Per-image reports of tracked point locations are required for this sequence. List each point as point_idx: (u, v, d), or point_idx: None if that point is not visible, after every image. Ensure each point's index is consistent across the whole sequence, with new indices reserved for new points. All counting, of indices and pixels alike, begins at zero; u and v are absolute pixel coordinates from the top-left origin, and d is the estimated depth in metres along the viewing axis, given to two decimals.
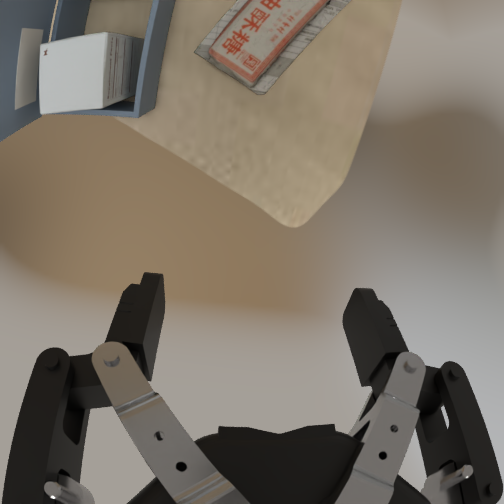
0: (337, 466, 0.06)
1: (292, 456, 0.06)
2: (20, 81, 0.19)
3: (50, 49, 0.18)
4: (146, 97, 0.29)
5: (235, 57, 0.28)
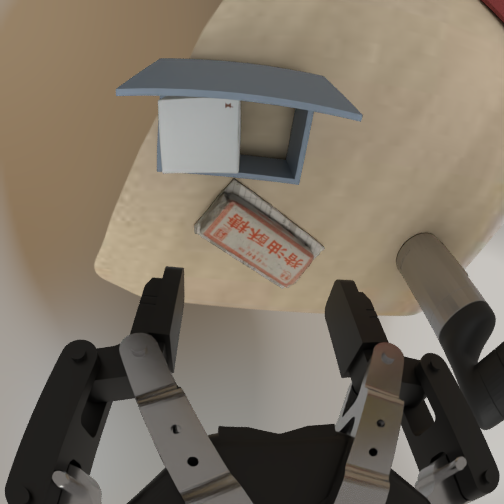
0: (337, 466, 0.06)
1: (292, 456, 0.06)
2: None
3: (231, 112, 0.24)
4: None
5: (224, 223, 0.40)
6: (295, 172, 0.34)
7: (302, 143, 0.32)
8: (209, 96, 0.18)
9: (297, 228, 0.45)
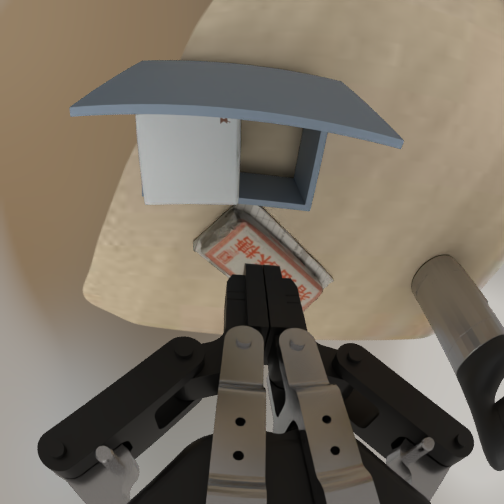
0: None
1: (292, 456, 0.06)
2: None
3: (227, 128, 0.19)
4: None
5: (231, 246, 0.35)
6: (306, 196, 0.29)
7: (315, 163, 0.27)
8: (194, 113, 0.13)
9: (309, 257, 0.40)
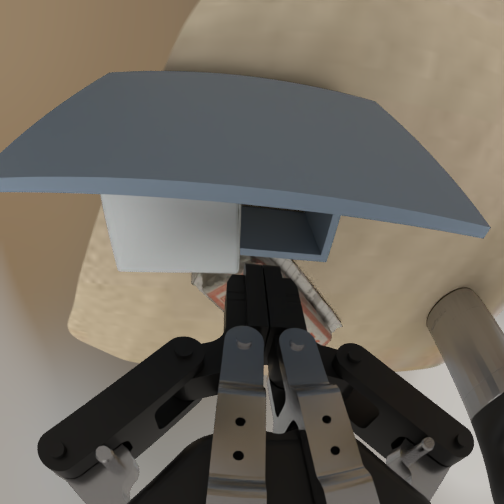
0: None
1: (292, 456, 0.06)
2: None
3: None
4: None
5: None
6: (322, 245, 0.23)
7: None
8: (159, 194, 0.07)
9: (321, 301, 0.35)
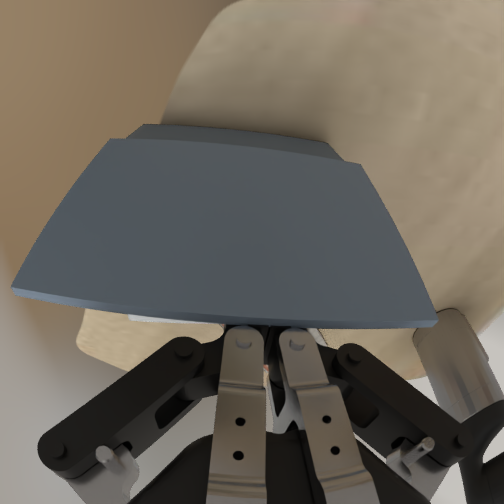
0: None
1: (292, 456, 0.06)
2: None
3: None
4: None
5: None
6: None
7: None
8: (169, 317, 0.10)
9: None
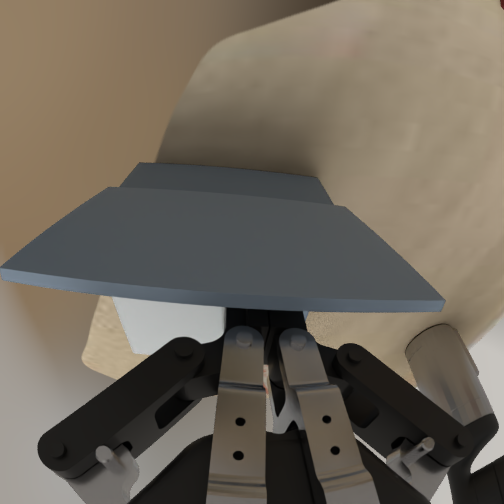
0: None
1: (292, 456, 0.06)
2: None
3: None
4: None
5: None
6: None
7: None
8: (158, 299, 0.09)
9: None
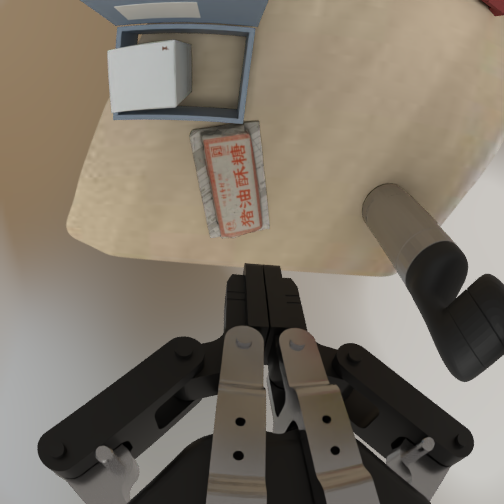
0: None
1: (292, 456, 0.06)
2: (142, 7, 0.21)
3: (167, 53, 0.24)
4: None
5: (228, 145, 0.39)
6: (239, 112, 0.34)
7: (243, 84, 0.32)
8: None
9: (265, 196, 0.47)
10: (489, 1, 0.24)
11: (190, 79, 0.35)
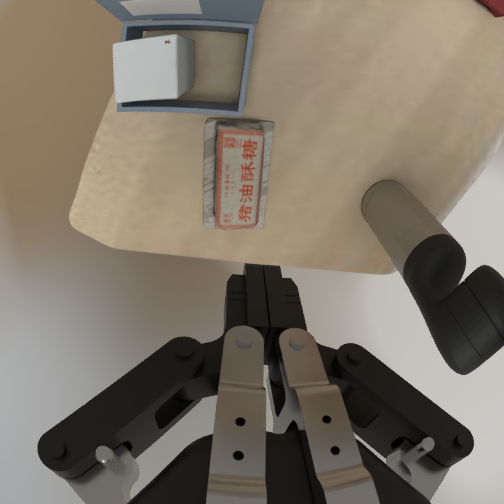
0: None
1: (292, 456, 0.06)
2: (147, 2, 0.22)
3: (169, 47, 0.25)
4: None
5: (242, 139, 0.40)
6: (238, 106, 0.35)
7: (242, 78, 0.33)
8: None
9: (265, 195, 0.49)
10: (488, 2, 0.24)
11: (192, 74, 0.36)
